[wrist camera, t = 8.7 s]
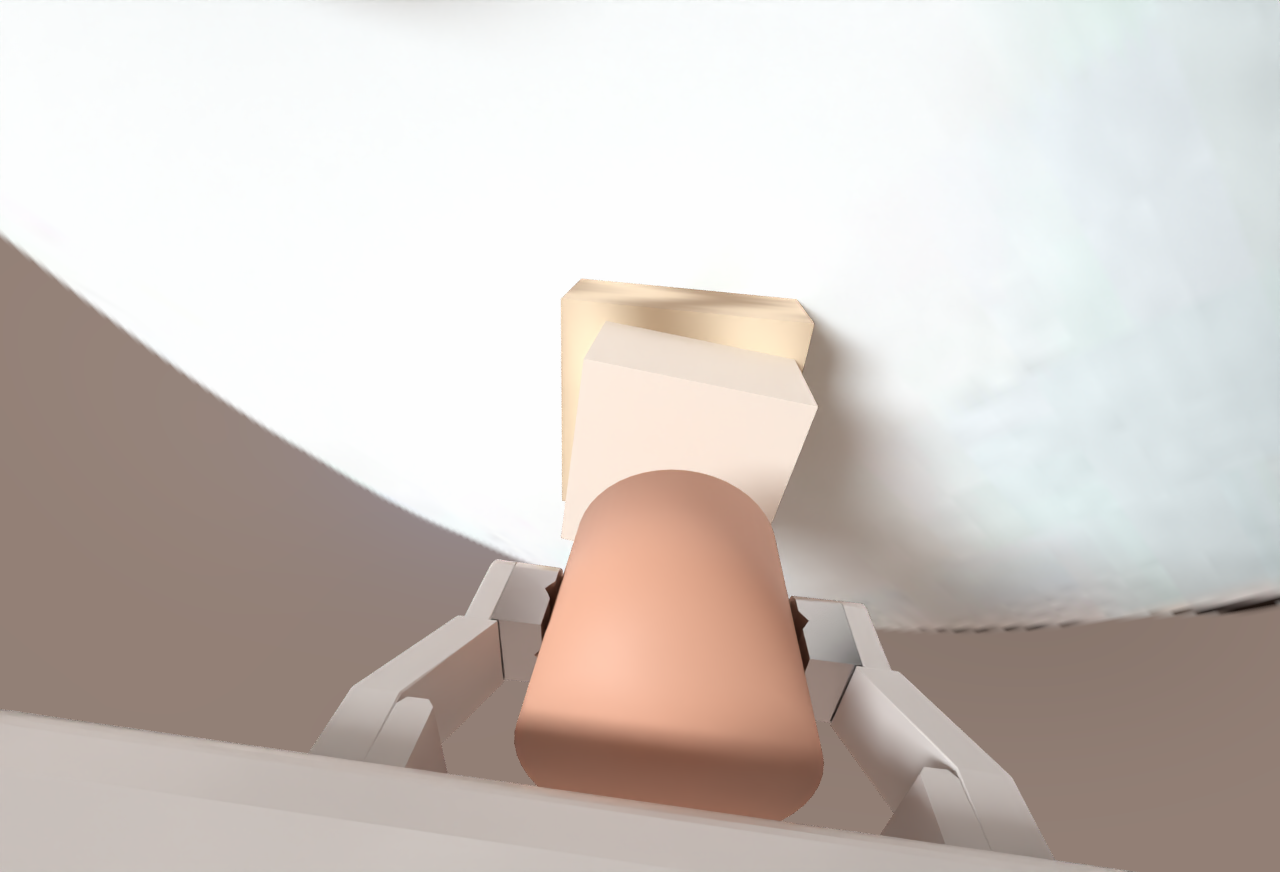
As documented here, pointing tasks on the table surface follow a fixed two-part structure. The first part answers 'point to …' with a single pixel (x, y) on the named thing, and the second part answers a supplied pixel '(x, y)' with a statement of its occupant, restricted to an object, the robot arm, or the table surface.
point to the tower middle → (684, 416)
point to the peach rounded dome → (673, 658)
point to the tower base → (671, 328)
